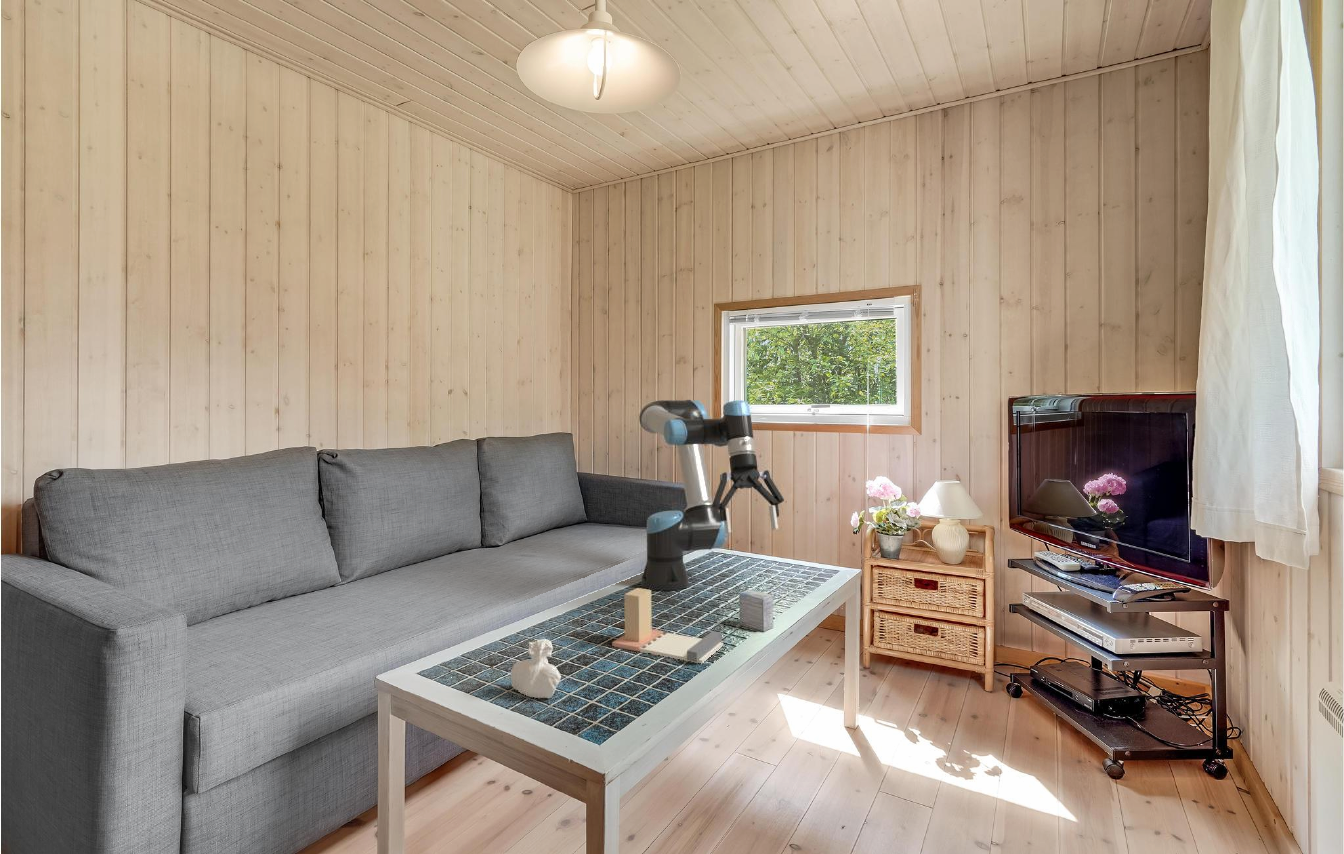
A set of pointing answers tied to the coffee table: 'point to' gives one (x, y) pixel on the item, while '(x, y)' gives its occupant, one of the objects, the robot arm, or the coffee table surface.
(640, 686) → the coffee table surface
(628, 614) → the stub
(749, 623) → the grey rectangular block
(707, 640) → the cream flat slab
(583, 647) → the coffee table surface
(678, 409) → the robot arm
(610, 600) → the coffee table surface
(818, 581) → the coffee table surface
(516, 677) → the white tied sack
